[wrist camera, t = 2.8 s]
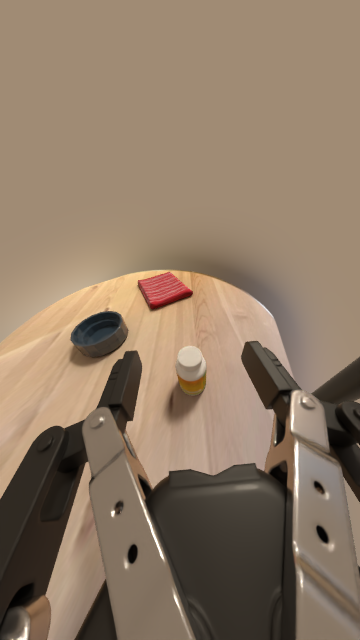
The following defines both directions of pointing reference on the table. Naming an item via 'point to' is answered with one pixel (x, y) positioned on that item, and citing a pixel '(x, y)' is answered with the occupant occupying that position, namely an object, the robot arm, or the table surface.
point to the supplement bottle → (191, 370)
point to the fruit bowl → (100, 333)
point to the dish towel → (163, 290)
